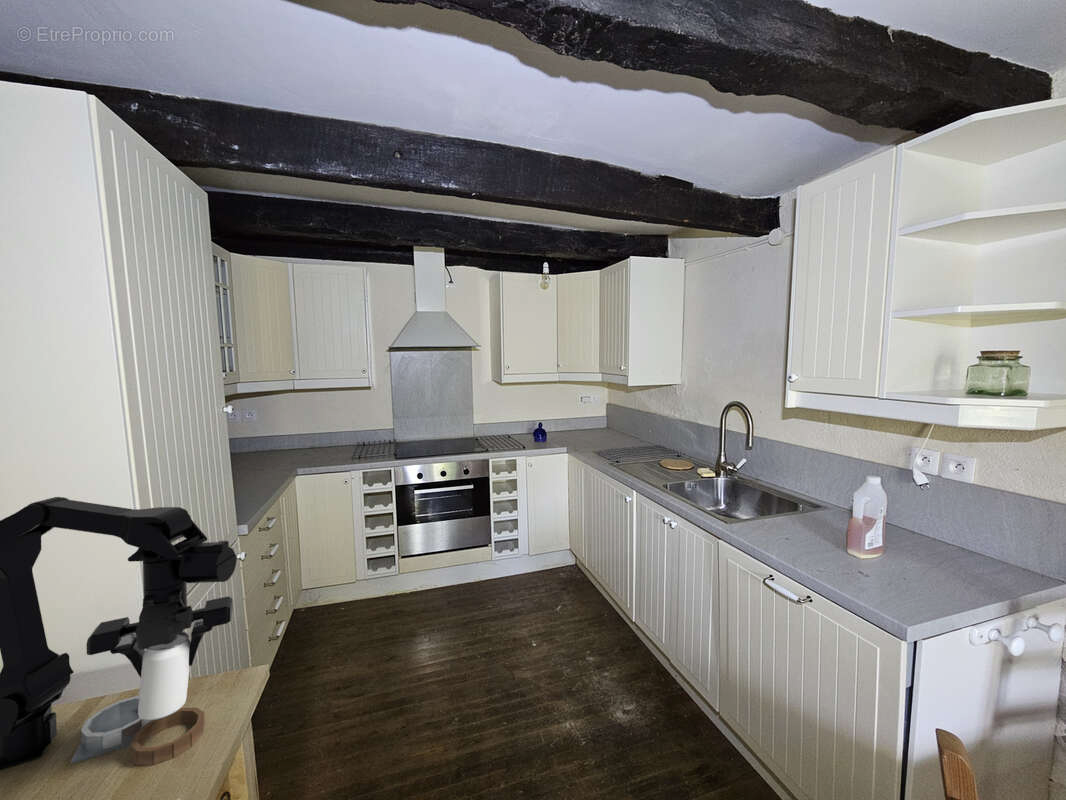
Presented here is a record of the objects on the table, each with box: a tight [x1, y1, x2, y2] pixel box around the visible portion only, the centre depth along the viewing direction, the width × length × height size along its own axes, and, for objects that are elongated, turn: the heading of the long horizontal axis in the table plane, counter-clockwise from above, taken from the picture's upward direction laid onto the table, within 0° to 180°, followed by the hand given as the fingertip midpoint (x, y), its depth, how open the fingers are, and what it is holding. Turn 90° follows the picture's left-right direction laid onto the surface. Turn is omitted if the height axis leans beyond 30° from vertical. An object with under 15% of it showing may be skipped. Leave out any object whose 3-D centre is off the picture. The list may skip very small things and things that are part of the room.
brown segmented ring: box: [130, 707, 205, 766], centre depth 75 cm, size 10×10×2 cm
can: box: [138, 631, 191, 721], centre depth 75 cm, size 6×6×12 cm
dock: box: [70, 695, 152, 765], centre depth 78 cm, size 10×10×3 cm
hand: (167, 670), depth 75 cm, fingers closed on can, 6 cm apart
